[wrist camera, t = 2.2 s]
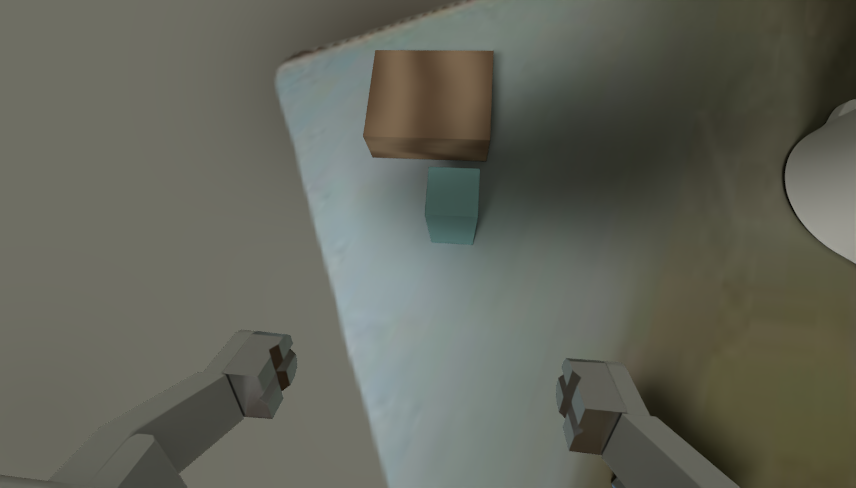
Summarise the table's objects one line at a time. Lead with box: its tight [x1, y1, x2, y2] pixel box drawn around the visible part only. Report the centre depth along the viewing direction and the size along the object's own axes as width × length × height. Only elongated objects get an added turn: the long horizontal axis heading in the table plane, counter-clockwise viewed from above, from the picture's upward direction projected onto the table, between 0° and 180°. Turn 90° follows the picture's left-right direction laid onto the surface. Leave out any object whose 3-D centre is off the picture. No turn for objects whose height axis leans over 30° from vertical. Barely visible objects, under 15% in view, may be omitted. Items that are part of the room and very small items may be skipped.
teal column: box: [425, 167, 480, 245], centre depth 30 cm, size 4×4×8 cm
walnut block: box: [363, 50, 493, 161], centre depth 35 cm, size 12×10×4 cm
